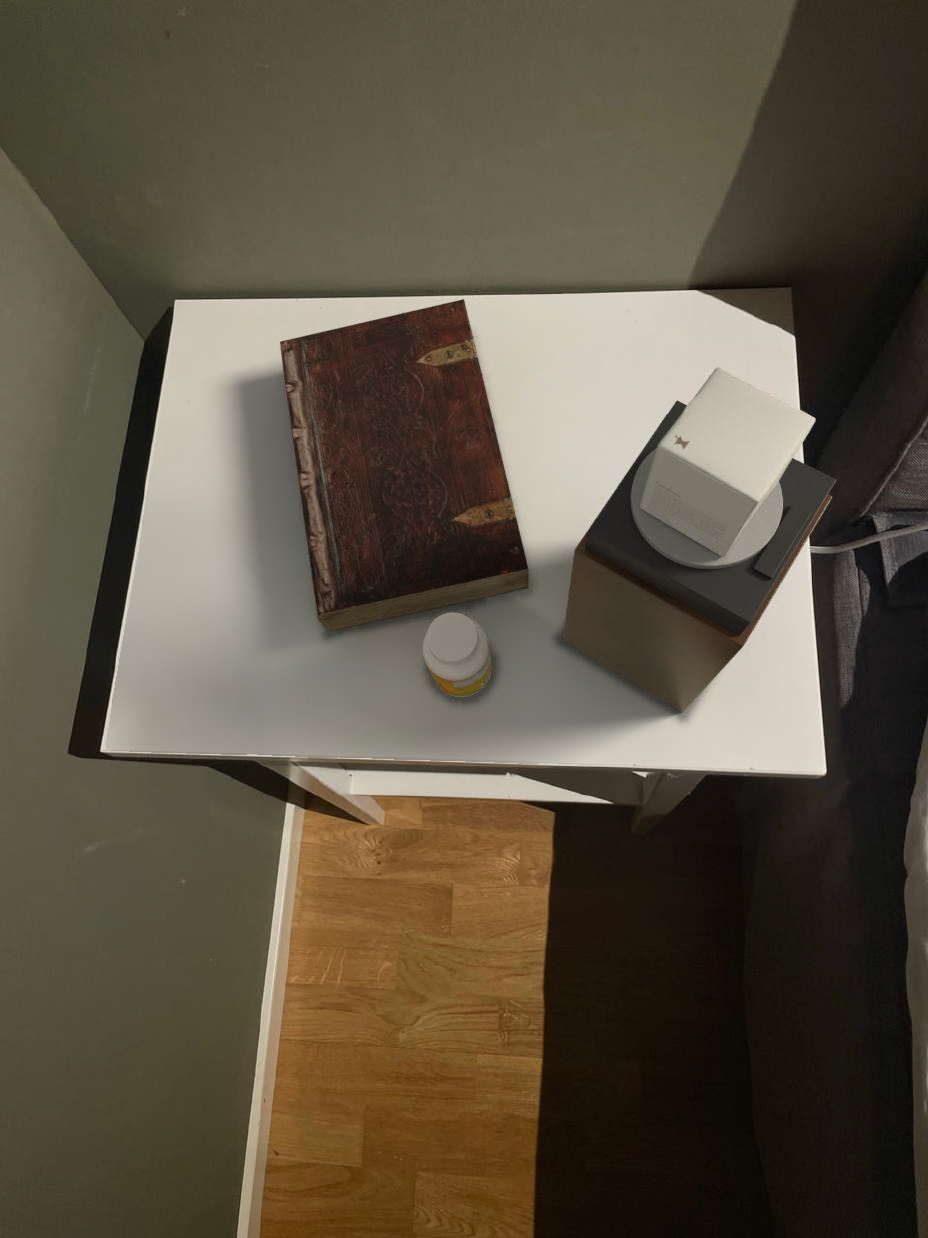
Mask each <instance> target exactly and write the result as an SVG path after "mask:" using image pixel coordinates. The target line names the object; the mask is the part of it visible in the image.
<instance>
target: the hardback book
mask: <svg viewBox="0 0 928 1238" xmlns="http://www.w3.org/2000/svg"><path fill="white" fill-rule="evenodd" d="M279 346H280V347H279V348H280V355H281V363H282V369H283V378H284V385H285V391H286V399H287V408H288V413H289V420H290V427H291V436H292V441H293V451H294V457H295V464H296V471H297V478H298V485H299V492H300V500H301V506H302V514H303V522H304V529H305V535H306V544H307V550H308V557H309V565H310V574H311V579H312V588H313V593H314V601H315V608H316V615H317V620H318V622H319V623H320V624H321V626H322V627H323V628H324V629H325V630H328V631H330V632H334V631H338V630H342V629H346V628H352V627H355V626H360V625H361V626H362V625H365V624H369V623H370V624H371V623H374V622H378V621H383V620H389V619H392V618H397V617H398V618H399V617H401V616H406V615H411V614H416V613H420V612H421V613H422V612H425V611H430V610H435V609H440V608H443V607H448V606H452V605H457V604H461V603H466V602H471V601H476V600H481V599H484V598H490V597H494V596H499V595H502V594H507V593H512V592H513V593H514V592H517V591H523V590H526V589H529V577H530V575H529V572H530V571H529V569H530V568H529V564H528V561H527V557H526V552H525V548H524V544H523V540H522V536H521V532H520V527H519V523H518V518H517V515H516V510H515V506H514V502H513V498H512V493H511V489H510V485H509V481H508V477H507V473H506V468H505V465H504V464H505V463H504V459H503V457H502V452H501V449H500V443H499V440H498V436H497V435H498V434H497V431H496V427H495V422H494V418H493V415H492V410H491V405H490V402H489V398H488V397H489V396H488V394H487V389H486V385H485V381H484V376H483V372H482V368H481V364H480V360H479V356H478V352H477V347H476V344H475V340H474V335H473V330H472V327H471V321H470V318H469V314H468V309H467V306H466V302H465V299H464V298H462V299H458V300H453V301H449V302H445V303H441V304H437V305H433V306H428V307H424V308H420V309H415V310H410V311H407V312H402V313H398V314H393V315H389V316H385V317H381V318H376V319H372V320H368V321H367V320H366V321H364V322H358V323H355V324H350V325H345V326H341V327H338V328H333V329H329V330H323V331H321V332H315V333H312V334H307V335H306V334H305V335H302V336H298V337H294V338H290V339H289V338H288V339H284V340H281V341H279Z"/></svg>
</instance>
